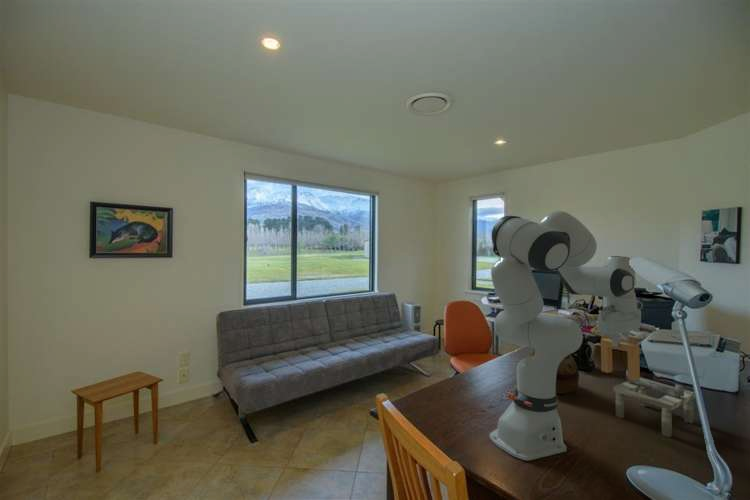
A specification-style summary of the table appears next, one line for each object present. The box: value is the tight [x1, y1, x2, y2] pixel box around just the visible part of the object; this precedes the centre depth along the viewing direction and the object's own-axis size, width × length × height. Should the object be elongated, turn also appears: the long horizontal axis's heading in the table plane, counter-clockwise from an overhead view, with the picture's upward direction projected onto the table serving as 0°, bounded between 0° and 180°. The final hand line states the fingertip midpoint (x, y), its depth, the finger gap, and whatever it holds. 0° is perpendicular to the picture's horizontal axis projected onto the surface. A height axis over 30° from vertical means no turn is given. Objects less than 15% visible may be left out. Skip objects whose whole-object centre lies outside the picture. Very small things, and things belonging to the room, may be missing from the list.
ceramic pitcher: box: [529, 349, 580, 394], centre depth 138 cm, size 20×20×30 cm
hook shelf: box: [613, 370, 696, 438], centre depth 111 cm, size 18×16×14 cm
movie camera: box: [533, 331, 603, 371], centre depth 167 cm, size 31×18×18 cm, turn 33°
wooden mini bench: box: [600, 338, 641, 381], centre depth 109 cm, size 10×3×11 cm, turn 27°
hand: (619, 345), depth 109 cm, fingers closed on wooden mini bench, 3 cm apart
